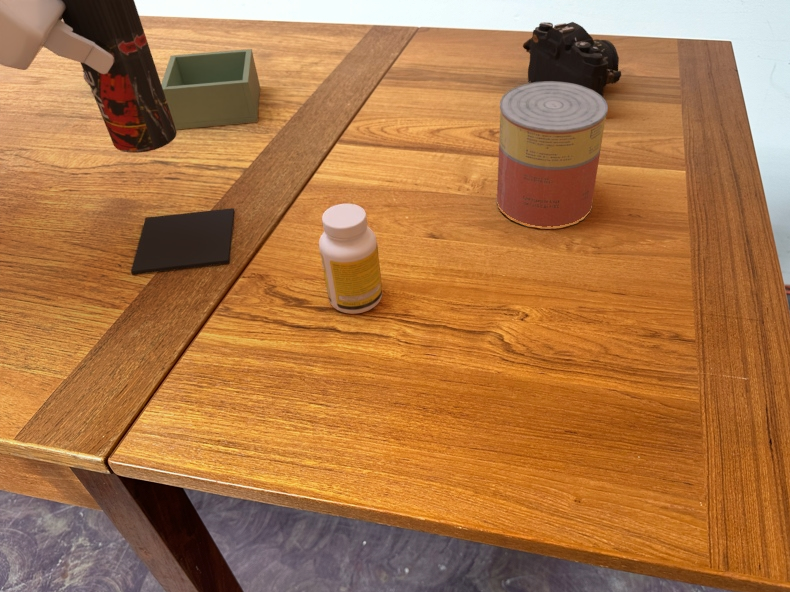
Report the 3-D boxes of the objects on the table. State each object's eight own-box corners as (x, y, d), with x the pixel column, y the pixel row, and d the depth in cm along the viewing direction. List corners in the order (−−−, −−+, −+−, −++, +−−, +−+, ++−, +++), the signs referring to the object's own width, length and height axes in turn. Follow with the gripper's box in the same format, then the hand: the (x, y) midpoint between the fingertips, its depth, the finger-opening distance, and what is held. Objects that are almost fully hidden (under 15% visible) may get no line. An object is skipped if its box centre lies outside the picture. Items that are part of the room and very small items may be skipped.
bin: (172, 130, 92) (159, 89, 88) (182, 94, 100) (170, 55, 96) (257, 122, 94) (247, 81, 89) (260, 87, 102) (251, 48, 98)
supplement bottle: (394, 297, 66) (386, 215, 60) (351, 323, 64) (337, 241, 57) (360, 273, 69) (348, 192, 62) (318, 297, 67) (301, 215, 60)
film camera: (648, 97, 97) (663, 26, 90) (600, 127, 91) (611, 53, 84) (551, 64, 106) (557, -3, 99) (501, 89, 100) (503, 20, 93)
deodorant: (189, 129, 66) (137, -38, 55) (146, 157, 62) (81, -17, 51) (143, 118, 67) (85, -46, 57) (99, 145, 64) (27, -26, 53)
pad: (132, 275, 70) (130, 271, 69) (146, 220, 77) (145, 217, 76) (229, 263, 71) (228, 260, 70) (234, 211, 78) (233, 207, 77)
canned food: (608, 193, 79) (625, 96, 71) (564, 241, 73) (577, 140, 64) (525, 167, 84) (532, 73, 75) (477, 209, 77) (479, 111, 69)
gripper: (-29, -72, 59) (124, 32, 67) (-132, 6, 45) (77, 127, 53) (-1, -135, 57) (155, -18, 65) (-101, -73, 42) (114, 68, 50)
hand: (119, 48), depth 59 cm, fingers closed on deodorant, 6 cm apart
